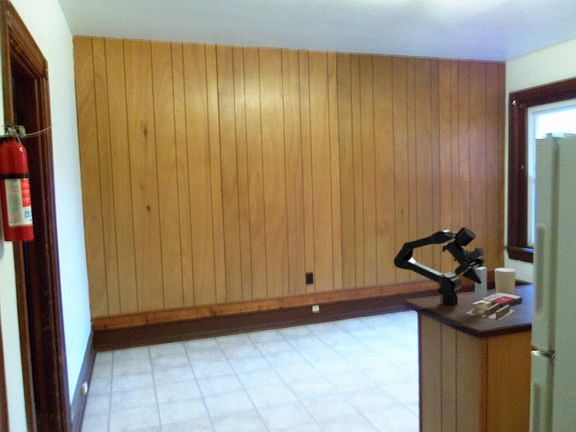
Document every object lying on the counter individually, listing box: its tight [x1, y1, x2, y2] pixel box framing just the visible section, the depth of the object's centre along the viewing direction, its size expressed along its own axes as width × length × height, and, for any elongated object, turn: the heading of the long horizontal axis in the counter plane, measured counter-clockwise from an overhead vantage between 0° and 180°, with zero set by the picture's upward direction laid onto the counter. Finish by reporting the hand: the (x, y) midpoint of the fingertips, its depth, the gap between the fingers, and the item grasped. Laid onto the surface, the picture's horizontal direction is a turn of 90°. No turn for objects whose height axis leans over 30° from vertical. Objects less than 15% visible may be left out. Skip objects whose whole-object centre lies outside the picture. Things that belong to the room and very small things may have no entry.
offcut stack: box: [471, 299, 492, 314], centre depth 193 cm, size 5×9×3 cm, turn 134°
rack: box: [466, 303, 516, 321], centre depth 191 cm, size 14×16×4 cm
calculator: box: [479, 292, 523, 308], centre depth 204 cm, size 11×4×15 cm
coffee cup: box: [494, 267, 517, 295], centre depth 220 cm, size 9×9×12 cm
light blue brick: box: [474, 266, 488, 299], centre depth 193 cm, size 2×6×12 cm, turn 134°
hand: (484, 281), depth 192 cm, fingers closed on light blue brick, 6 cm apart
